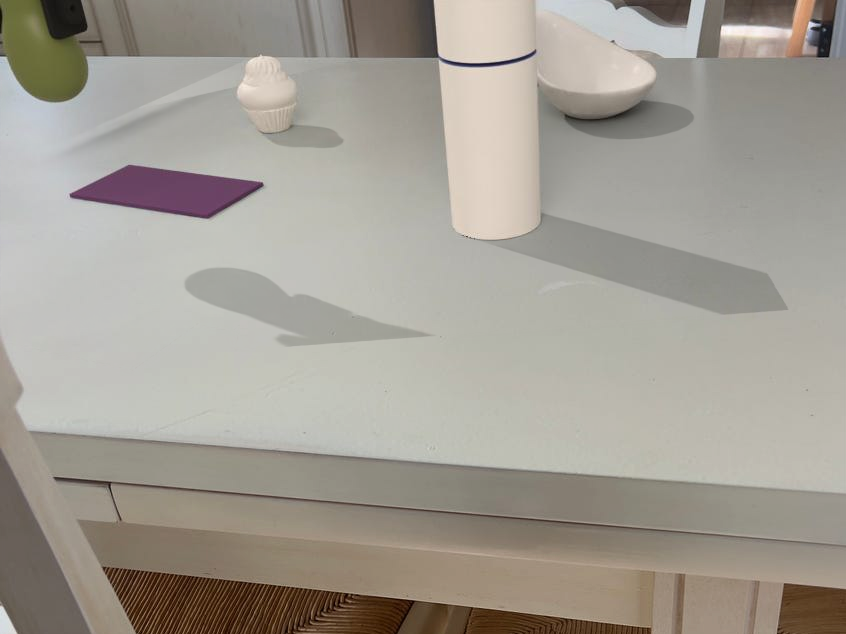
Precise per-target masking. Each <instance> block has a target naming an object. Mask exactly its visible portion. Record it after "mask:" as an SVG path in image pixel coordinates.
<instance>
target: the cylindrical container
mask: <svg viewBox="0 0 846 634" xmlns="http://www.w3.org/2000/svg"><path fill="white" fill-rule="evenodd" d="M433 8H434V19H435V20H434V21H435V32H436V45H437V54H438V67H439V68H438V69H439V82H440V92H441V106H442V117H443V128H444V141H445V142H444V143H445V150H446V151H445V153H446V154H445V155H446V165H447V176H448V177H447V178H448V188H449V189H448V190H449V199H450V201H449V203H450V214H451V225H453V226H452V229H453V228H454V229H455V230H454V229H453V230H454V231H455V233H457V234H459V235H461V236H463V235H464V236H463V237H466V236H468V237H467V238H470V237H471V238H470V239H474V238H475V239H474V240H483V241H484V240H485V241H496V240H508V239H512V238H517V237H520V236H524V235H526V234H529V233H530V232H532V231H534V230H535V229H536V228H538V227H539V226H540V224H541V222H542V211H541V208H542V207H541V172H540V169H541V168H540V139H539V138H540V136H539V135H540V133H539V132H540V130H539V91H538V88H539V87H538V82H537V50H536V12H537V11H536V10H537V9H536V0H433Z"/></svg>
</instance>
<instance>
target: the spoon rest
mask: <svg viewBox="0 0 846 634" xmlns="http://www.w3.org/2000/svg"><path fill="white" fill-rule="evenodd" d="M536 50H537V85H538V86H539V87H538V88H539V89H540V90H541V93H542V94H543V95H544V97H545V98H546V99H547V100H548V102H549V103H550V104H551V105H553V106H554V107H555V108H557V110H560V111H562V112H563V113H564V114H565V115H567V116H569V117H571V118H575V119H581V120H601V119H607V118H611V117H614V116H617V115H619V114H621V113H624V112H626V111H628V110H630V109H631V108H633V107H635V106H636V105H638V104H639V103H640V102H641V101H642V100H643V99H644V98H646V97H647V95H648V94H649V92H651V91H652V89H653V87H654V86H655V85H656V82H657V80H658V73H657V71H656V69H655V68H654V66H653V65H652V64H651V63H650V62H649V61H647V60H645V59H643V58H642V57H640V56H639V55H637V54H635V53H632V52H630V51H628V50H626V49H625V48H622V47H621V46H618V45H617V44H614V43H613V42H611V41H609V40H607V39H605V38H604V37H602V36H600V35H598V34H596V33H595V32H592V31H591V30H589V29H587V28H586V27H584V26H582V25H580V24H579V23H577V22H575V21H574V20H571V19H570V18H568V17H566V16H563V15H562V14H559V13H557V12H555V11H551V10H544V9H543V10H539V11H536Z"/></svg>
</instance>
